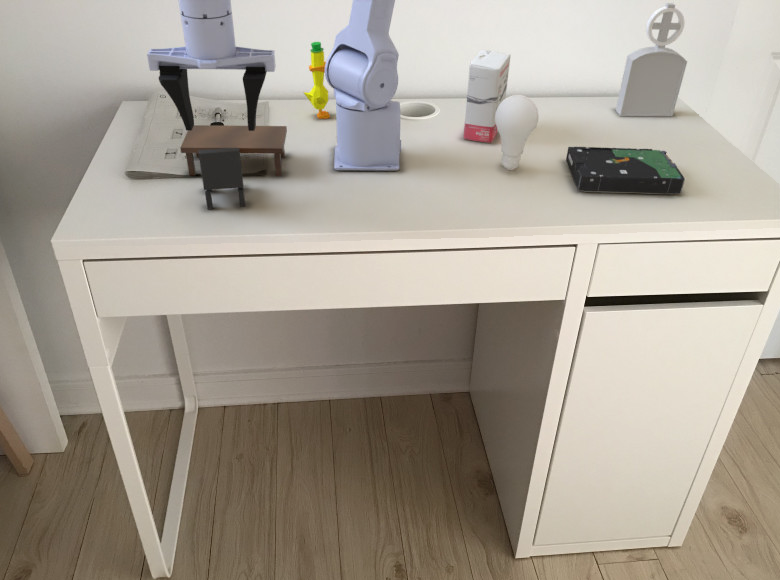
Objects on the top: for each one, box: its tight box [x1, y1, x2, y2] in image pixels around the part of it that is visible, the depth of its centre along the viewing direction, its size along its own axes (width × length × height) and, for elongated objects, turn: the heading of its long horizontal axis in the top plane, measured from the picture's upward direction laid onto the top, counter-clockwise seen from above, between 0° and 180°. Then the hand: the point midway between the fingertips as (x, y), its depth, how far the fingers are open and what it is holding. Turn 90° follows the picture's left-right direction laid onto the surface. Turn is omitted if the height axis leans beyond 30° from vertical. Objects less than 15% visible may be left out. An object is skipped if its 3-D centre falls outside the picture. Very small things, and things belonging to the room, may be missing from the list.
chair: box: [198, 148, 246, 210], centre depth 95 cm, size 5×6×8 cm
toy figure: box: [303, 41, 331, 120], centre depth 117 cm, size 7×4×12 cm, turn 105°
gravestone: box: [615, 2, 688, 117], centre depth 121 cm, size 3×9×18 cm, turn 94°
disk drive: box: [565, 146, 686, 195], centre depth 105 cm, size 10×3×15 cm
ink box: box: [463, 49, 511, 144], centre depth 114 cm, size 9×5×12 cm, turn 161°
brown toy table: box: [179, 124, 288, 177], centre depth 104 cm, size 14×8×4 cm, turn 93°
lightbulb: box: [495, 94, 539, 171], centre depth 104 cm, size 6×6×11 cm
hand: (221, 127), depth 90 cm, fingers open, 7 cm apart
